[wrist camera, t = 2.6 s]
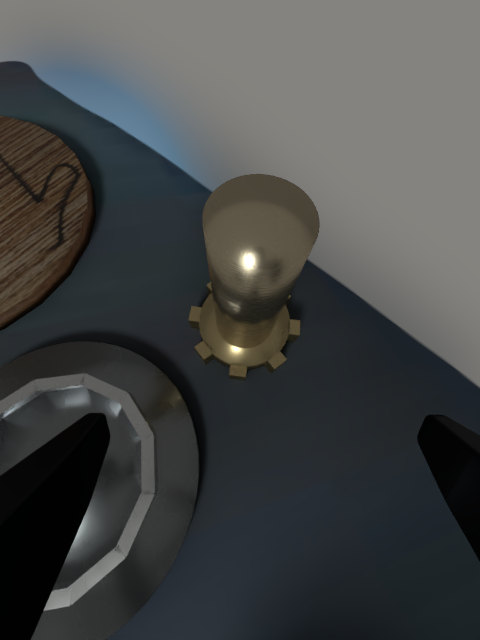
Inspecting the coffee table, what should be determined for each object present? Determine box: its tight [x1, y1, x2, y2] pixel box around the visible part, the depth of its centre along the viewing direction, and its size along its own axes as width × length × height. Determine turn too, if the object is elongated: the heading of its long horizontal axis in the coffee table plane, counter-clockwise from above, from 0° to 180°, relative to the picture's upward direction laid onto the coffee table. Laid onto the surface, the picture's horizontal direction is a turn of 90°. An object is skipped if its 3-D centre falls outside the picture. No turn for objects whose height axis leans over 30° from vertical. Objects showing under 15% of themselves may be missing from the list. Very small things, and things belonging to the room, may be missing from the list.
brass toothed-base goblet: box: [189, 174, 319, 381], centre depth 16 cm, size 8×8×13 cm
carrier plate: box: [0, 341, 200, 640], centre depth 17 cm, size 18×18×2 cm
